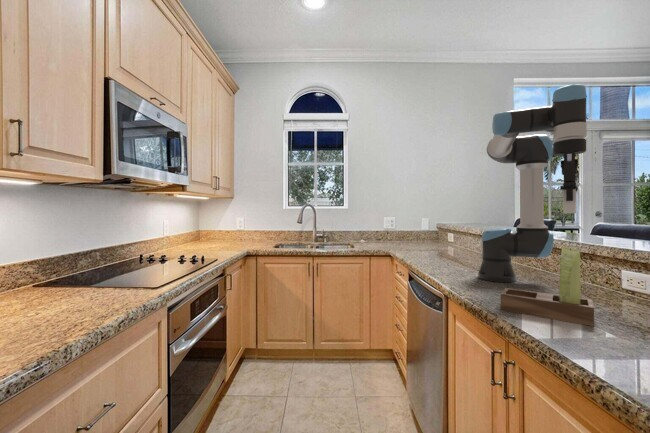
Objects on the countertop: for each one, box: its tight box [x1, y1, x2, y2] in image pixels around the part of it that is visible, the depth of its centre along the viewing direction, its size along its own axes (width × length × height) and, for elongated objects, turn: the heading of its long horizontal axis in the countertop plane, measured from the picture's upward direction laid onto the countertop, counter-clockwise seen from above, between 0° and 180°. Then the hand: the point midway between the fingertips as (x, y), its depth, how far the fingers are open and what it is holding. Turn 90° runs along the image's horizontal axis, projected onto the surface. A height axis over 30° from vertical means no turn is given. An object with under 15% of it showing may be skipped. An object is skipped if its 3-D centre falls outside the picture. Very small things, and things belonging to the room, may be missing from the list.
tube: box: [558, 245, 581, 304], centre depth 87 cm, size 6×5×20 cm
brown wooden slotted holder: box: [500, 287, 595, 327], centre depth 91 cm, size 10×22×5 cm, turn 50°
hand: (569, 213), depth 86 cm, fingers open, 13 cm apart
